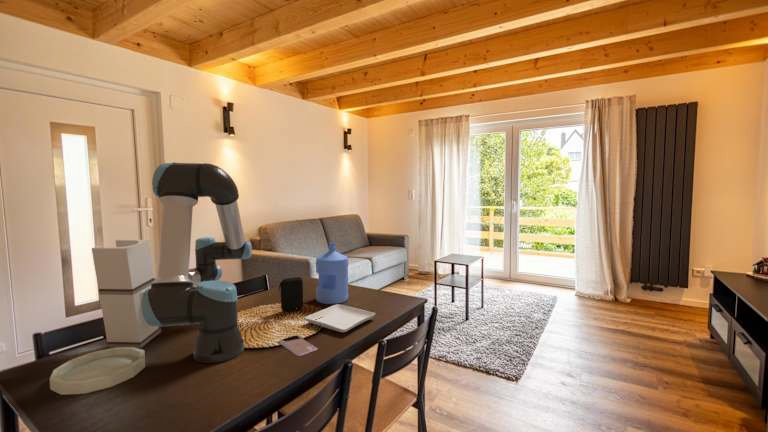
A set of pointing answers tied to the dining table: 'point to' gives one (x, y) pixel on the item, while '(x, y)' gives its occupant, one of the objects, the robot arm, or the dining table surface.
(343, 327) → the salad plate
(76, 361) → the round tray
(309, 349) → the mobile phone
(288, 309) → the black rounded block
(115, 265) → the tall seamed cream box
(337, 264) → the water jug
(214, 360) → the robot arm
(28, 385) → the dining table surface
